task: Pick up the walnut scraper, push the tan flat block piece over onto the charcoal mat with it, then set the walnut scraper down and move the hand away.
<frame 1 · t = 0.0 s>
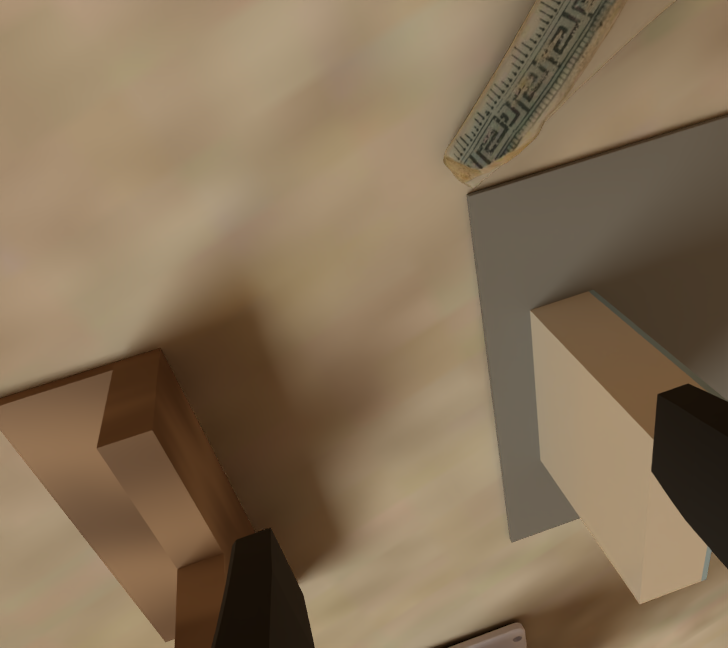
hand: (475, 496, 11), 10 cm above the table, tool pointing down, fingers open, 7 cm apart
tan flat block piece: (564, 382, 24), resting on charcoal mat
walnut scraper: (214, 492, 23), on the table
charcoal mat: (663, 345, 24), on the table
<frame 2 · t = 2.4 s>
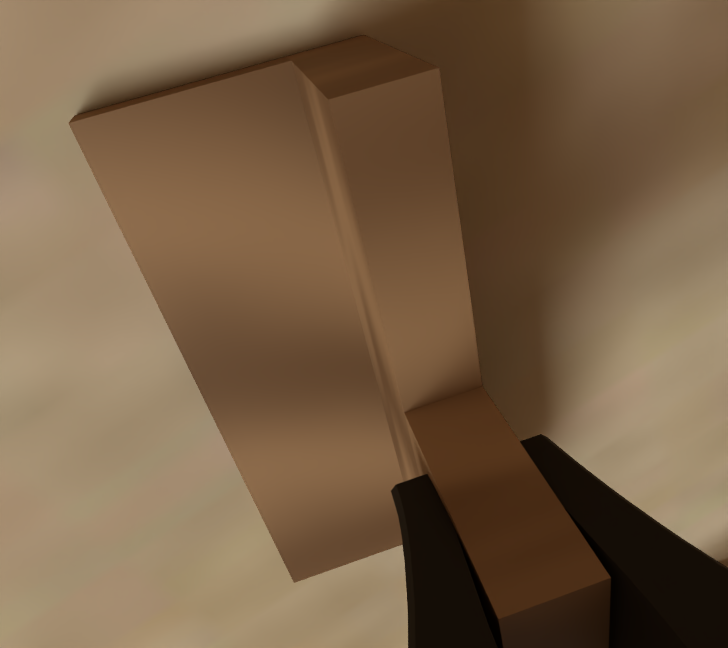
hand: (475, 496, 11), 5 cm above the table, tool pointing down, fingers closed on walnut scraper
walnut scraper: (394, 341, 15), on the table, touching gripper
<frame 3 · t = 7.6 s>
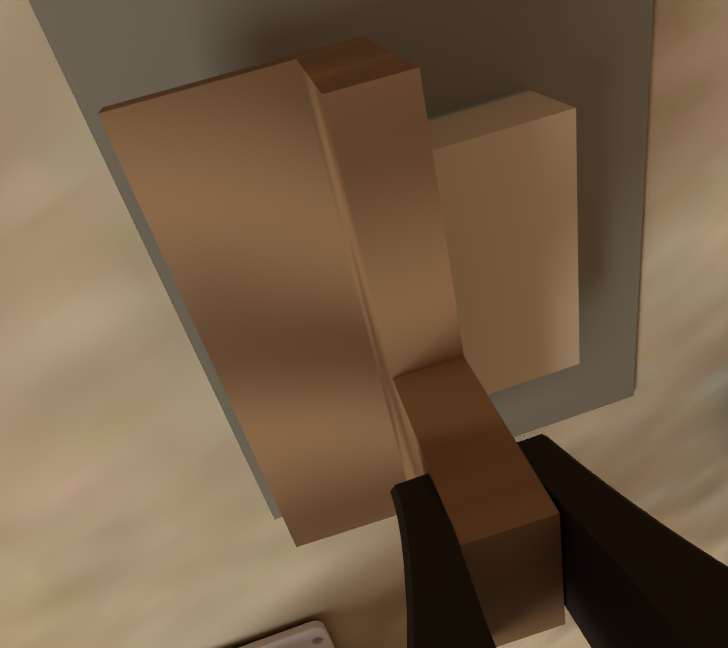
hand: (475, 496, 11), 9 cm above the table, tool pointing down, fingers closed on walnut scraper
tan flat block piece: (329, 307, 17), point 1 cm above the table, tilted 90°, touching charcoal mat, walnut scraper
walnut scraper: (391, 320, 16), point 3 cm above the table, touching gripper, tan flat block piece
charcoal mat: (420, 253, 18), on the table
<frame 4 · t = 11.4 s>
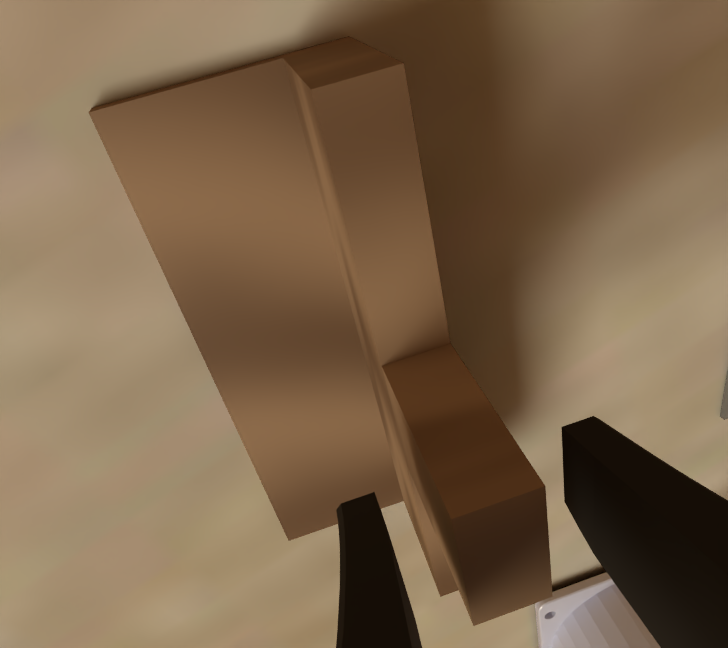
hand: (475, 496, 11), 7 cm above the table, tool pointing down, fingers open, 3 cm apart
walnut scraper: (378, 313, 16), on the table
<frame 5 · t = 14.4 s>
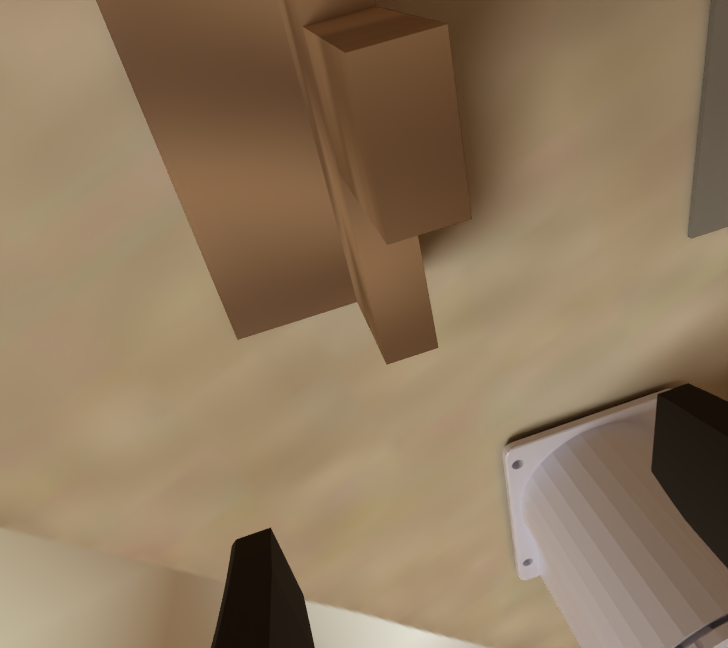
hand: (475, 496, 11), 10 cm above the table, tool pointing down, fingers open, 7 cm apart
walnut scraper: (321, 66, 16), on the table
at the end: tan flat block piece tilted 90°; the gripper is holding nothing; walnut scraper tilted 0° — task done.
